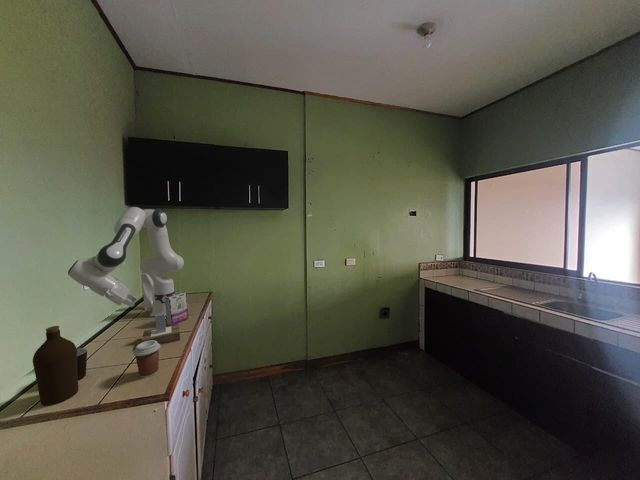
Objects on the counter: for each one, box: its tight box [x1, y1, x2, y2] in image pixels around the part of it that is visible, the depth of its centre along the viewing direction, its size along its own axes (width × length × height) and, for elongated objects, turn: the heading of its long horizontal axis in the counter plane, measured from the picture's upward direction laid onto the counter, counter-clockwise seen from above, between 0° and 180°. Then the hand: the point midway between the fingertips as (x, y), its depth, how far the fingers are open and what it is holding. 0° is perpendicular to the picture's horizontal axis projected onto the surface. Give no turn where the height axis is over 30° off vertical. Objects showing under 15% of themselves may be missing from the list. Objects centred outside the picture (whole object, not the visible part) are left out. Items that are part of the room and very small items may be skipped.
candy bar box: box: [165, 292, 189, 326], centre depth 156 cm, size 11×5×16 cm, turn 155°
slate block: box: [154, 313, 167, 334], centre depth 132 cm, size 4×4×9 cm
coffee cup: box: [132, 340, 161, 379], centre depth 102 cm, size 9×9×12 cm
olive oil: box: [32, 325, 80, 407], centre depth 89 cm, size 11×11×25 cm
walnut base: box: [141, 323, 181, 346], centre depth 132 cm, size 14×16×4 cm
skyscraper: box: [140, 269, 155, 311], centre depth 183 cm, size 8×8×28 cm
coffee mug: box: [77, 347, 88, 381], centre depth 100 cm, size 12×9×10 cm
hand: (134, 302), depth 126 cm, fingers open, 8 cm apart
